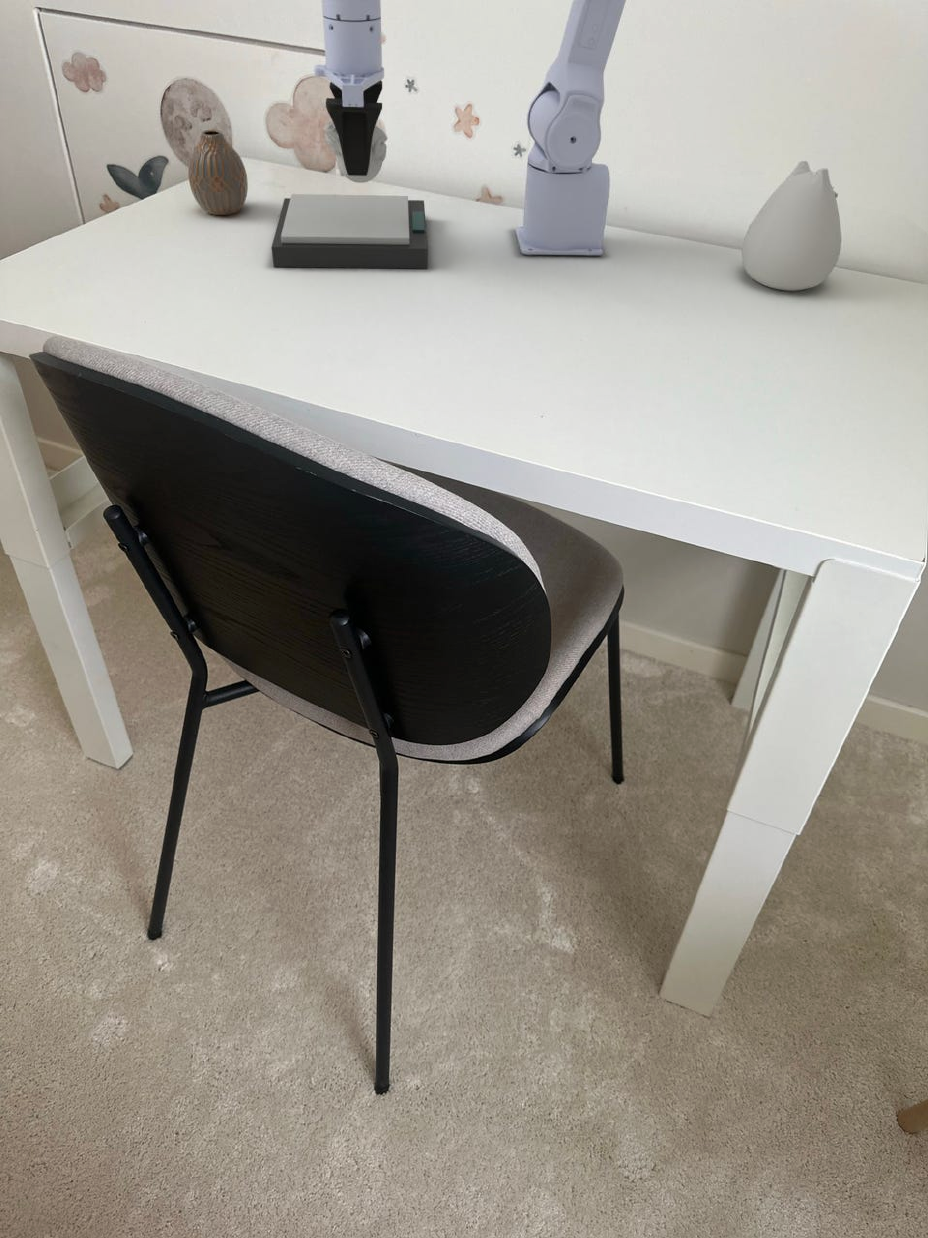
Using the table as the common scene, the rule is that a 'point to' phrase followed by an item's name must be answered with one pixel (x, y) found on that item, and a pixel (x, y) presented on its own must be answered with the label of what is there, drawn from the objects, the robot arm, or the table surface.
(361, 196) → the scale
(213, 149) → the vase
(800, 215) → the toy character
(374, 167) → the frog figurine
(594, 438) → the table surface
